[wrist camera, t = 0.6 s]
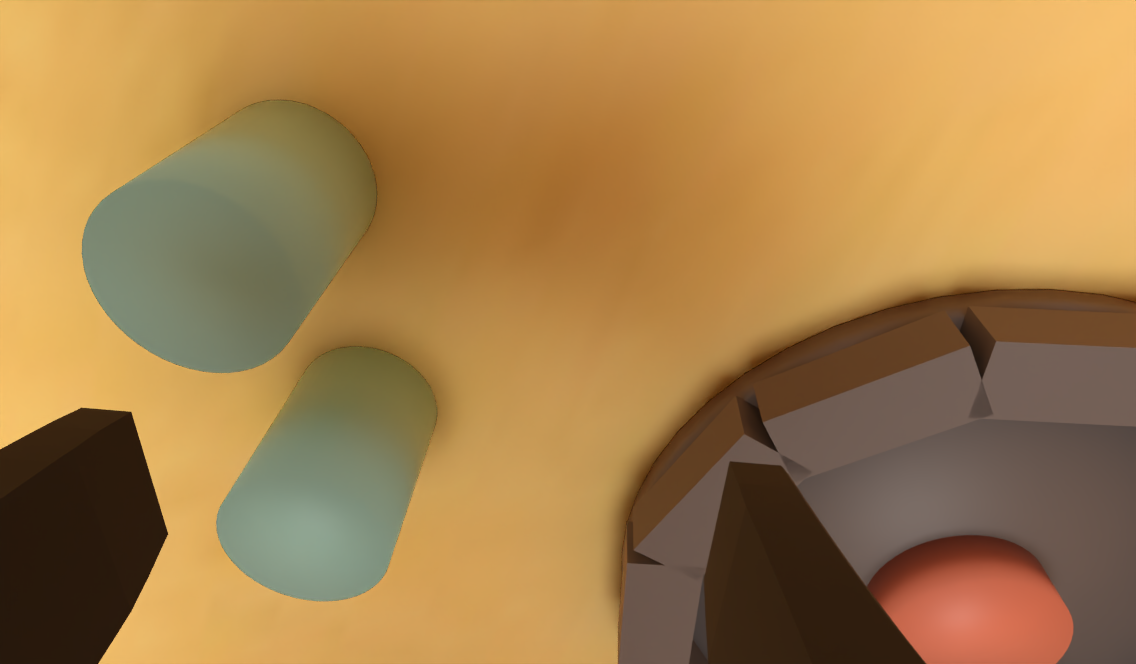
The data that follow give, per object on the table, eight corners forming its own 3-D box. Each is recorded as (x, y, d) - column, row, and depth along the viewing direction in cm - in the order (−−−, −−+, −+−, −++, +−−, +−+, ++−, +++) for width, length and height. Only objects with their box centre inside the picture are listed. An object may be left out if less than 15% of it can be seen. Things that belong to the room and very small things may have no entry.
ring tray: (940, 808, 29) (965, 882, 27) (510, 619, 25) (499, 689, 23) (1468, 509, 21) (1566, 583, 18) (939, 137, 16) (988, 178, 14)
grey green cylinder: (339, 284, 19) (259, 404, 15) (192, 206, 18) (61, 311, 14) (403, 157, 17) (331, 253, 13) (243, 66, 16) (110, 136, 12)
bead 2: (402, 477, 22) (350, 622, 18) (279, 420, 21) (194, 558, 17) (461, 389, 20) (418, 526, 16) (329, 322, 20) (248, 448, 15)
